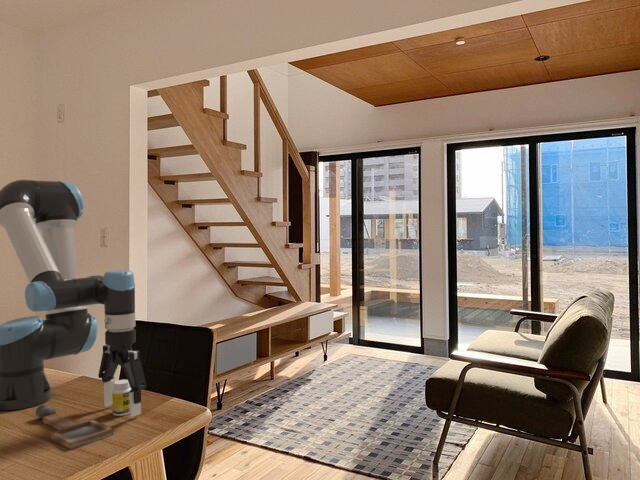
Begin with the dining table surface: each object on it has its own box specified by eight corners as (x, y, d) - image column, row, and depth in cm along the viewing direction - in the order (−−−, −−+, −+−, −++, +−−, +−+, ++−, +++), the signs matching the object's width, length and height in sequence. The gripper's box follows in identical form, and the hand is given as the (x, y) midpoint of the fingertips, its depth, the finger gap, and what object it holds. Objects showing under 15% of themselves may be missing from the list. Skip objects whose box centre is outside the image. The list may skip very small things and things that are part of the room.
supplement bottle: (125, 416, 130) (124, 385, 130) (108, 415, 131) (108, 384, 131) (135, 410, 135) (134, 379, 135) (119, 409, 136) (119, 378, 136)
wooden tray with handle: (21, 423, 127) (21, 410, 127) (61, 411, 135) (61, 399, 135) (71, 449, 111) (71, 435, 111) (113, 434, 119) (113, 421, 119)
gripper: (83, 326, 137) (85, 404, 137) (133, 337, 122) (135, 425, 123) (109, 321, 143) (111, 396, 143) (159, 331, 128) (161, 415, 129)
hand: (122, 410), depth 133 cm, fingers open, 12 cm apart
